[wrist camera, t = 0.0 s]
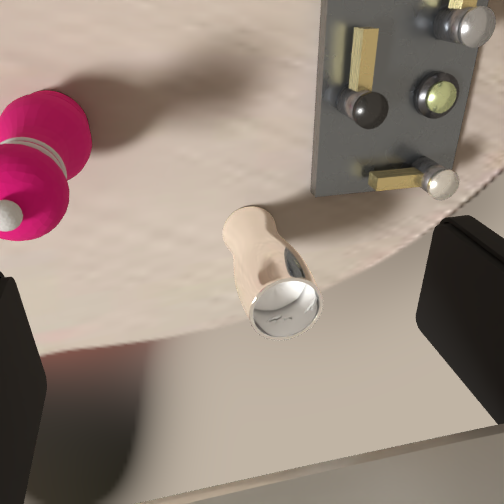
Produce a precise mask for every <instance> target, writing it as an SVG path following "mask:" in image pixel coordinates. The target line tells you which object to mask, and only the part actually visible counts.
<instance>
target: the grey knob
mask: <svg viewBox="0 0 504 504" xmlns="http://www.w3.org/2000/svg"><path fill="white" fill-rule="evenodd" d="M476 4H477V0H450V1H449V6H446V7H444V8H442V9H441V10H440V11H439V12H438V14H437V15H436V17H435V19H434V23H433V32H434V34H435V36H436V37H437V38H438V39H439V40H442V41H447V42H452V43H458V44H462V45H464V46H466V47H471V48H476V47H480V46H482V45H483V44H485V43H486V42H487V41H488V40H489V39H490V37H491V36H492V34H493V32H494V29H495V24H496V18H495V14H494V12H493V11H492V10H491V9H490V8H489V7H486V6H476Z"/></svg>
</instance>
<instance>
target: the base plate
mask: <svg viewBox="0 0 504 504" xmlns="http://www.w3.org/2000/svg"><path fill="white" fill-rule="evenodd" d="M449 1H450V0H321V15H320V33H319V50H318V68H317V85H316V103H315V120H314V138H313V155H312V173H311V190H310V191H311V193H312V194H313V195H314V196H315V197H321V196H331V195H340V194H350V193H359V192H369V191H375V190H374V189H373V188H372V187H371V186H370V185H368V179H369V172H370V171H381V170H391V169H402V168H410V166H411V164H412V163H413V162H414V161H415V160H417V159H418V158H421V157H428V158H430V159H432V160H433V161H435V162H437V163H438V164H440V165H442V166H443V167H445V168H447V169H450V170H452V167H453V162H454V157H455V153H456V148H457V144H458V139H459V134H460V130H461V125H462V121H463V116H464V111H465V107H466V102H467V98H468V93H469V88H470V84H471V79H472V75H473V70H474V65H475V61H476V56H477V52H478V47H476V48H471V47H466V46H464V45H462V44H458V43H452V42H447V41H442V40H439V39H438V38H437V37H436V36H435V34H434V32H433V23H434V19H435V17H436V15H437V14H438V12H439V11H440V10H441V9H442V8H444V7H446V6H449ZM488 1H489V0H477V4H476V6H486V7H487V6H488ZM354 27H373V28H378V29H379V32H378V41H377V49H376V58H375V67H374V75H373V84H372V91H374V92H377V93H380V94H382V95H383V96H384V97H385V98H386V99H387V101H388V105H389V110H388V114H387V117H386V119H385V120H384V122H383V123H382V124H381V125H379V126H378V127H376V128H374V129H364V128H362V127H360V126H359V125H357V124H356V123H355V122H354V121H353V120H351V119H350V118H348V117H346V116H345V115H343V114H342V113H341V112H340V111H339V110H338V107H337V97H338V95H339V93H340V91H341V90H342V89H343V88H344V87H346V86H347V85H349V78H350V67H351V56H352V45H353V34H354Z"/></svg>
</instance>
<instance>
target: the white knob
mask: <svg viewBox="0 0 504 504" xmlns="http://www.w3.org/2000/svg"><path fill="white" fill-rule="evenodd" d="M368 185H370V186H371V187H372V188H373V189H374V190H375V191H383V190H393V189H402V188H412V187H420V188H422V189H423V190H425V191H426V192H427V193H428V194H429V195H430V196H431V197H433V198H434V199H436V200H445V199H448V198H449V197H451V196H452V195H453V194H454V193H455V192H456V190H457V188H458V186H459V177H458V175H457V173H455V172H454V171H452V170H450V169H447V168H445V167H443V166H442V165H440V164H438V163H437V162H435V161H433V160H432V159H430V158H428V157H421V158H418V159H417V160H415V161H414V162H413V163H412V164H411V166H410V168H402V169H391V170H381V171H370V172H369V179H368Z"/></svg>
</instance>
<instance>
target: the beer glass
mask: <svg viewBox="0 0 504 504" xmlns="http://www.w3.org/2000/svg"><path fill="white" fill-rule="evenodd" d="M222 235H223V240H224V243H225V245H226V246H227V248H228V249H229V250H230V251H231V252H232V254H233V264H234V279H235V285H236V289H237V293H238V296H239V299H240V301H241V304H242V306H243V308H244V310H245V312H246V314H247V316H248V318H249V320H250V323H251V326H252V327H253V329H254V330H255V331H256V332H257V333H258V334H259V335H261V336H263V337H265V338H267V339H271V340H287V339H292V338H295V337H297V336H299V335H301V334H303V333H305V332H306V331H308V330H309V329H310V328H311V327H312V326H313V325H314V324H315V322H316V321H317V320H318V318H319V317H320V315H321V312H322V309H323V297H322V294H321V292H320V290H319V288H318V286H317V284H316V282H315V279H314V277H313V275H312V273H311V271H310V269H309V268H308V266H307V264H306V263H305V261H304V260H303V258H302V257H301V255H300V254H299V253H298V252H297V251H296V250H295V249H294V248H293V247H292V246H291V245H290V244H289V243H288V242H287V241H286V240H284V239H283V238H282V237H281V236H280V235H279V234H278V233H277V228H276V224H275V221H274V219H273V217H272V215H271V214H270V213H269V212H268V211H266V210H265V209H263V208H260V207H256V206H248V207H243V208H240V209H238V210H236V211H235V212H233V213H232V214H231V215H230V216H229V217H228V218H227V220H226V222H225V224H224V226H223V232H222Z"/></svg>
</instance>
